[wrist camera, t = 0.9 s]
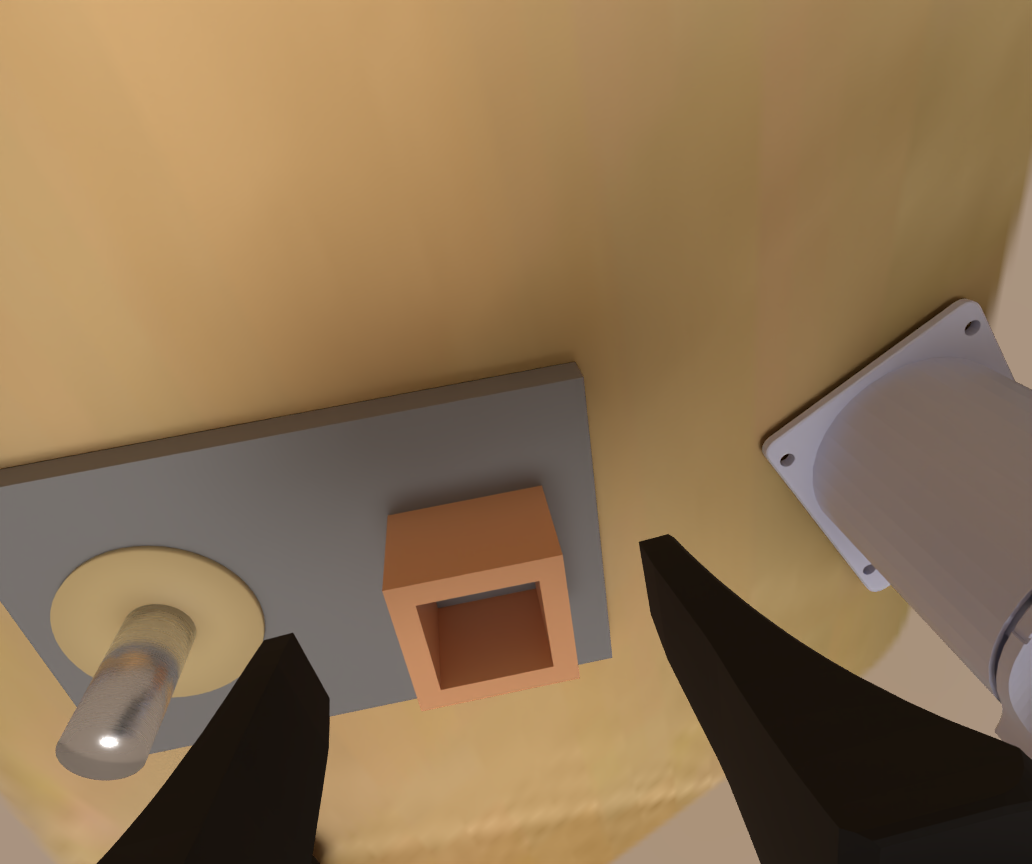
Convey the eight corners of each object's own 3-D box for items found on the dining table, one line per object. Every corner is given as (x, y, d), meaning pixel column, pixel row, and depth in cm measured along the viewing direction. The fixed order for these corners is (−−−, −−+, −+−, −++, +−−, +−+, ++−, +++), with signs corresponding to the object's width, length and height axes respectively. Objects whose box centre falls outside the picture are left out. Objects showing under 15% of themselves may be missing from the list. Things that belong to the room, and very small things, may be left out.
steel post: (222, 596, 23) (164, 750, 18) (182, 630, 23) (114, 790, 18) (167, 562, 22) (88, 714, 17) (126, 598, 22) (37, 758, 17)
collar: (541, 485, 21) (562, 554, 18) (559, 599, 23) (580, 678, 20) (387, 515, 21) (381, 591, 18) (421, 627, 23) (421, 711, 20)
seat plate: (575, 361, 20) (585, 381, 19) (604, 634, 26) (614, 663, 25) (-46, 478, 19) (-80, 506, 18) (128, 732, 25) (112, 768, 24)
